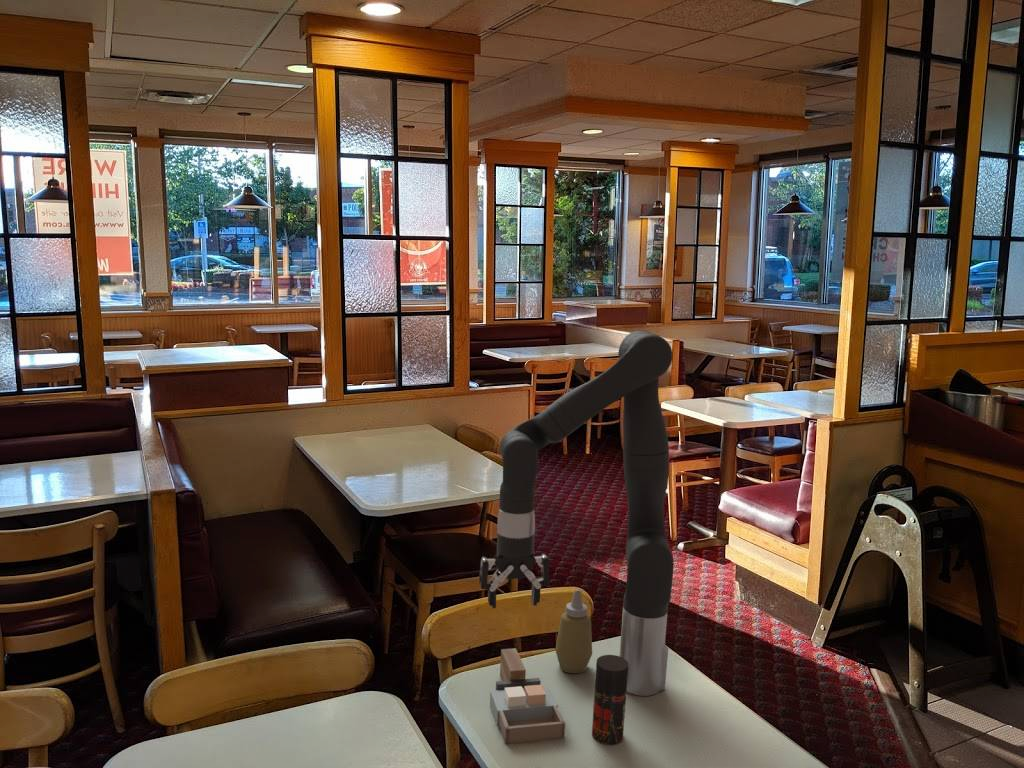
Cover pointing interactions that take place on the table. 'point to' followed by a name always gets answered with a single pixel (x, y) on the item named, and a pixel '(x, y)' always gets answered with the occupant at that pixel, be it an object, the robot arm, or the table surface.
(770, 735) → the table surface
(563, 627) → the squeeze bottle
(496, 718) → the grey flat-topped cover
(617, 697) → the deodorant
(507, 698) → the tile
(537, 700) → the tile
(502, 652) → the scraper
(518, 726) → the box
